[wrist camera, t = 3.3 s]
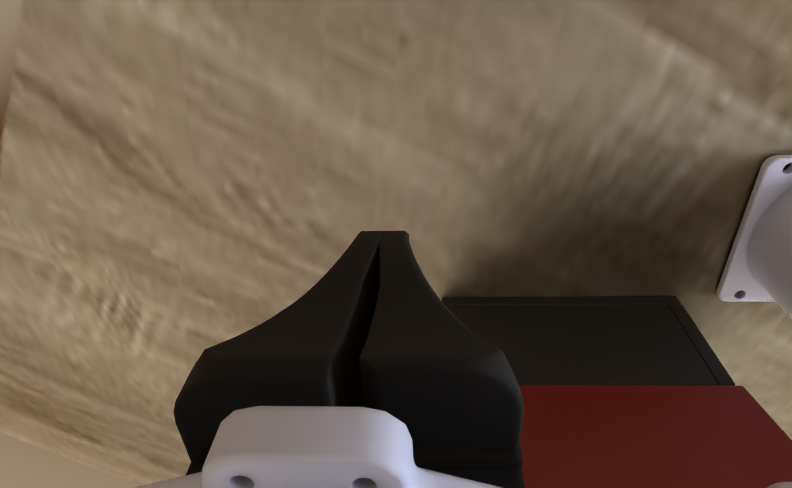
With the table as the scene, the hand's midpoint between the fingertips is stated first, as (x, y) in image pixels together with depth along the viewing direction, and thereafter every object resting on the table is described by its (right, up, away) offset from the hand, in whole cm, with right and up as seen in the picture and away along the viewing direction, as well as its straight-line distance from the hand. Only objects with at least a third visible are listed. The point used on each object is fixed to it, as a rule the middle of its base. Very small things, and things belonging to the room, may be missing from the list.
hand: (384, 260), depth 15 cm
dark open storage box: (+9, -7, +16) cm, 20 cm away
